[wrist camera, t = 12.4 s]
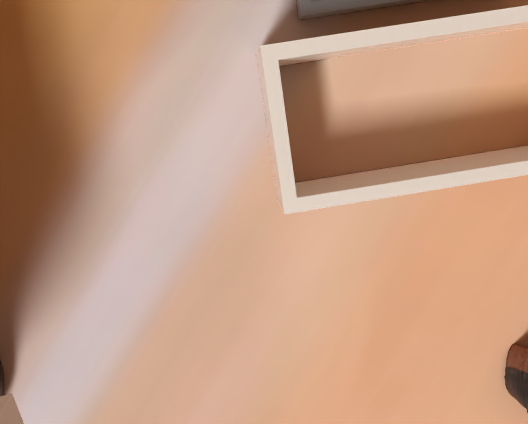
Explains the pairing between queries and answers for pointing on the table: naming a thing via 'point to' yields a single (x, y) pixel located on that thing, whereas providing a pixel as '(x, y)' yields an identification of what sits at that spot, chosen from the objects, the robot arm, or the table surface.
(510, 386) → the dark brown openwork dome
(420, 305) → the table surface
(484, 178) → the cream storage bin
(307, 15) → the tray
